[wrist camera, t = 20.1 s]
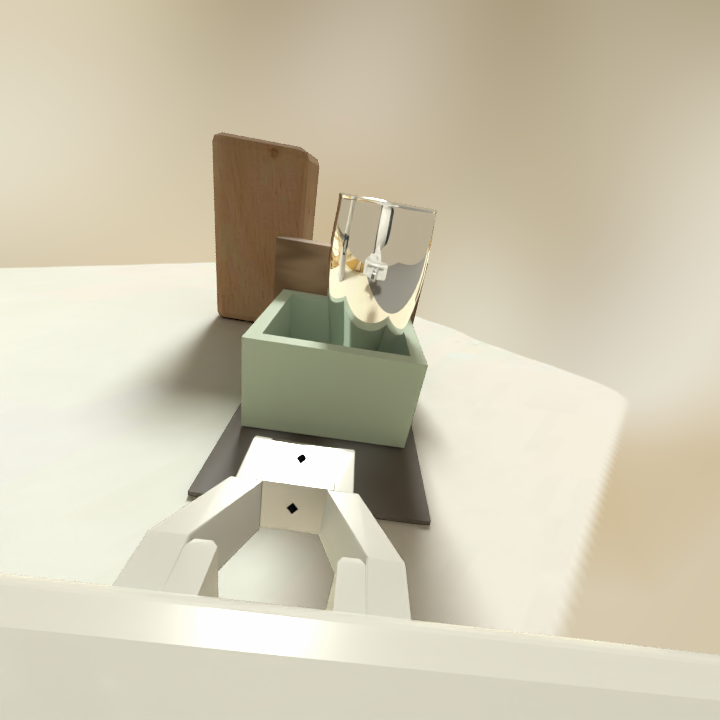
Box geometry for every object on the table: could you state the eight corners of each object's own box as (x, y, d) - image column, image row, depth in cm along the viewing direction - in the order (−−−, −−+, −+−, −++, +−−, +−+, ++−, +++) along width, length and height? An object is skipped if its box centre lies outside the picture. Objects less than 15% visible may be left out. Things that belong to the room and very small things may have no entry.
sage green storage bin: (241, 425, 24) (241, 336, 21) (279, 354, 34) (283, 288, 31) (404, 448, 24) (427, 365, 21) (392, 371, 35) (406, 309, 32)
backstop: (188, 495, 19) (167, 287, 13) (275, 348, 37) (281, 235, 31) (429, 524, 19) (500, 340, 14) (398, 366, 38) (424, 259, 32)
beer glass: (391, 424, 25) (445, 211, 19) (302, 405, 25) (325, 189, 19) (394, 380, 31) (436, 209, 25) (323, 365, 32) (346, 193, 25)
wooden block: (293, 330, 42) (308, 147, 33) (214, 318, 41) (207, 128, 33) (306, 307, 51) (320, 158, 42) (241, 296, 50) (242, 143, 42)
